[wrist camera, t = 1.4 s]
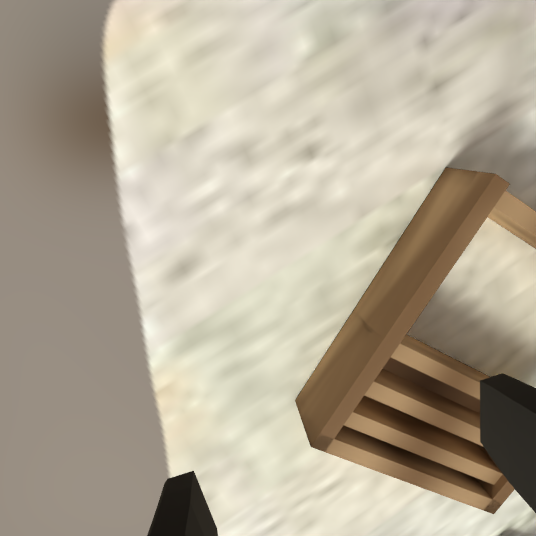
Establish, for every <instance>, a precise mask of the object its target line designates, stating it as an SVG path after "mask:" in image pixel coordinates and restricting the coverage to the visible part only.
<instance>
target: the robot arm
mask: <svg viewBox="0 0 536 536" xmlns="http://www.w3.org/2000/svg"><path fill="white" fill-rule="evenodd" d="M480 442H481V443H482V445H483V446H484V448H485V449H486V451H487V452H488V454H489V455H490V457H491V458H492V459H493V461H494V462H495V464H496V465H497V467H498V468H499V469H500V471H501V472H502V473H503V475H504V476H505V477H506V479H507V480H508V482H509V483H510V484H511V485H512V486H513V487H514V489H515V490H516V491H517V492H518V493H519V494H520V496H521V497H522V498H523V499H524V500H525V501H526V502H527V504H528V505H529V506H530V507H531V508H532V509H533V510H534V512H535V513H536V388H534V387H532V386H530V385H527V384H525V383H523V382H521V381H519V380H516V379H514V378H512V377H509V376H507V375H505V374H499V375H496V376H493V377H490V378H486V379H483V380H480ZM147 536H218V533H217V528H216V525H215V523H214V520H213V518H212V515H211V513H210V510H209V508H208V505H207V503H206V500H205V498H204V495H203V493H202V490H201V488H200V485H199V483H198V480H197V478H196V475H195V473H194V471H191V472H188V473H185V474H182V475H179V476H175V477H172V478H169V479H167V481H166V482H165V484H164V487H163V491H162V493H161V497H160V500H159V503H158V506H157V509H156V512H155V515H154V518H153V521H152V524H151V527H150V530H149V532H148V535H147Z"/></svg>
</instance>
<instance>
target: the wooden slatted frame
mask: <svg viewBox="0 0 536 536" xmlns="http://www.w3.org/2000/svg"><path fill="white" fill-rule="evenodd" d="M509 185H510V184H509V183H508V182H506V181H505V180H504V179H502V178H501V177H499V176H498V175H497V174H492V173H484V172H477V171H469V170H461V169H454V168H445V170H444V171H443V173H442V174H441V176H440V177H439V179H438V181H437V182H436V184H435V185H434V187H433V188H432V190H431V191H430V193H429V194H428V196H427V198H426V199H425V201H424V202H423V204H422V205H421V207H420V208H419V210H418V211H417V213H416V215H415V216H414V218H413V219H412V221H411V222H410V224H409V225H408V227H407V228H406V230H405V232H404V233H403V235H402V236H401V238H400V239H399V241H398V242H397V244H396V245H395V247H394V249H393V250H392V252H391V253H390V255H389V256H388V258H387V259H386V261H385V262H384V264H383V266H382V267H381V269H380V270H379V272H378V273H377V275H376V276H375V278H374V279H373V281H372V283H371V284H370V286H369V287H368V289H367V290H366V292H365V293H364V295H363V296H362V298H361V300H360V301H359V303H358V304H357V306H356V307H355V309H354V310H353V312H352V313H351V315H350V317H349V318H348V320H347V321H346V323H345V324H344V326H343V327H342V329H341V330H340V332H339V334H338V335H337V337H336V338H335V340H334V341H333V343H332V344H331V346H330V347H329V349H328V351H327V352H326V354H325V355H324V357H323V358H322V360H321V361H320V363H319V364H318V366H317V368H316V369H315V371H314V372H313V374H312V375H311V377H310V378H309V380H308V381H307V383H306V385H305V386H304V388H303V389H302V391H301V392H300V394H299V395H298V397H297V398H296V400H295V402H296V405H297V408H298V411H299V414H300V416H301V419H302V422H303V425H304V428H305V431H306V434H307V437H308V440H309V443H310V446H311V447H313V448H316V449H318V450H321V451H324V452H326V453H329V454H332V455H335V456H337V457H340V458H343V459H345V460H348V461H351V462H354V463H356V464H359V465H362V466H364V467H367V468H370V469H373V470H375V471H378V472H381V473H383V474H386V475H389V476H392V477H394V478H397V479H400V480H402V481H405V482H408V483H411V484H413V485H416V486H419V487H421V488H424V489H427V490H430V491H432V492H435V493H438V494H440V495H443V496H446V497H449V498H451V499H454V500H457V501H459V502H462V503H465V504H468V505H470V506H473V507H476V508H479V509H481V510H484V511H487V512H489V513H492V514H494V513H495V512H496V511H497V510H498V508H499V507H500V506H501V505H502V504H503V502H504V501H505V500H506V499H507V498H508V496H509V495H510V494H511V493H512V492H513V491H514V487H513V486H512V485H511V484H510V483H509V482H508V480H507V479H506V477H505V476H504V475H503V473H502V472H501V471H500V469H499V468H498V467H497V465H496V464H495V462H494V461H493V459H492V458H491V457H490V455H489V454H488V452H487V451H486V449H485V448H484V446H483V445H482V443H481V442H480V380H483V379H486V378H490V377H489V376H487V375H485V374H483V373H481V372H479V371H477V370H475V369H473V368H471V367H469V366H467V365H465V364H463V363H461V362H459V361H457V360H455V359H453V358H451V357H449V356H447V355H445V354H443V353H441V352H440V351H438V350H436V349H434V348H432V347H430V346H428V345H426V344H424V343H422V342H420V341H418V340H416V339H414V338H412V337H410V336H408V335H406V334H407V333H408V331H409V330H410V328H411V327H412V325H413V324H414V322H415V321H416V320H417V318H418V317H419V315H420V314H421V312H422V311H423V309H424V308H425V306H426V305H427V304H428V302H429V301H430V299H431V298H432V296H433V295H434V293H435V292H436V291H437V289H438V288H439V286H440V285H441V283H442V282H443V280H444V279H445V277H446V276H447V275H448V273H449V272H450V270H451V269H452V267H453V266H454V264H455V263H456V262H457V260H458V259H459V257H460V256H461V254H462V253H463V251H464V250H465V249H466V247H467V246H468V244H469V243H470V241H471V240H472V238H473V237H474V235H475V234H476V233H477V231H478V230H479V228H480V227H481V225H482V224H483V222H484V221H485V220H486V218H487V217H489V218H490V219H492V220H493V221H495V222H496V223H498V224H499V225H501V226H502V227H504V228H505V229H507V230H508V231H510V232H511V233H513V234H514V235H516V236H517V237H519V238H520V239H522V240H523V241H525V242H526V243H528V244H529V245H531V246H532V247H534V248H535V249H536V211H534V210H533V209H531V208H530V207H529V206H527V205H526V204H524V203H523V202H521V201H520V200H519V199H517V198H516V197H514V196H513V195H511V194H510V193H509V192H507V191H506V189H507V188H508V186H509Z"/></svg>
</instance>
